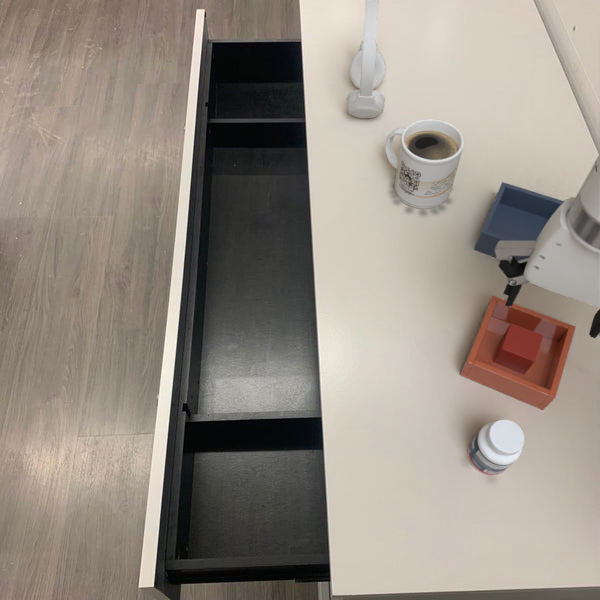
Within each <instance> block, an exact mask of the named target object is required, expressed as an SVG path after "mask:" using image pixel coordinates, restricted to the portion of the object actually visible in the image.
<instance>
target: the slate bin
mask: <svg viewBox="0 0 600 600" xmlns="http://www.w3.org/2000/svg"><path fill="white" fill-rule="evenodd" d="M564 201H565V200H562V199H559V198H555V197H552V196H549V195H546V194H543V193H539V192H536V191H532V190H529V189H527V188H523V187H521V186H520V187H519V186H517V185H514V184H511V183H507V182H504V181H502V182H501V184H500V187H499V189H498V191H497V193H496V196H495V198H494V200H493V203H492V205H491V207H490V209H489V212H488V214H487V216H486V219H485V222H484V223H483V226H482V228H481V231H480V233H479V235H478V238H477V241H476V243H475V246H474V250H473V251H477V252H479V253H482V254H485V255H488V256H491V257H494V258H496V259H497V256H496V253H495V248H496V246H497V243H498V241H501V240H515V241H536V240H537V238H538V236H539V234H540V233H541V231H542V229H543V228H544V226H545V225H546V223H547V222H548V220H549V219H550V218H551V216H552V215H553V214H554V212H555V211H556V210H557V209H558V208H559V206H560V205H561V204H562V203H563V202H564ZM514 257H515V258H516V260H517V261H520V260H523V259H527V258H530V256H514Z"/></svg>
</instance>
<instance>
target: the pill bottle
mask: <svg viewBox="0 0 600 600" xmlns="http://www.w3.org/2000/svg"><path fill="white" fill-rule="evenodd" d="M525 438H526V437H525V433H524V431H523V430H522V428H521V427H520V425H518V424H517V423H516V422H514V421H513V420H510V419H506V418H505V419H499V420H498V419H497V420H495V421H491V422H488V423H486V424H485V425H483V426H482V427H481V428H480V430H479V431H478V432H477V434H476V435H475V436H474V437H473V438H472V440H471V441H470V443H469V445H468V448H467V457H468V460H469V462H470V464H471V465H472V467H473V468H474V469H475V470H476V471H478V472H479V473H481V474H483V475H485V476H498V475H500V474H502V473H503V472H505V471H506V470H507V469H508V468H509V467H510V466H511V465H513V464H514V463H515V462H517V461H518V460H519V458H520V457H521V456H522V454H523V450H524V444H525V440H526V439H525Z"/></svg>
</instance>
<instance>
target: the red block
mask: <svg viewBox="0 0 600 600" xmlns="http://www.w3.org/2000/svg"><path fill="white" fill-rule="evenodd" d="M542 337H543V335H541V334H539V333H536V332H533V331H531V330H528V329H526V328H523V327H520V326H518V325H515V324H513V323H511V324H510V325H509V327H508V329H507V330H506V332H505V334H504V335H503V337H502V339H501V342H500V345H499V347H498V350H497V353H496V356H495V359H494V361H493V362H495V363H497V364H499V365H502V366H504V367H507V368H509V369H512V370H514V371H517V372H519V373H521V374H525V373H526V372H527V371H528V369H529V368H530V367H531V366H532V364H533V363H534V362H535V359H536V356H537V353H538V350H539V347H540V343H541V340H542Z"/></svg>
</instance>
